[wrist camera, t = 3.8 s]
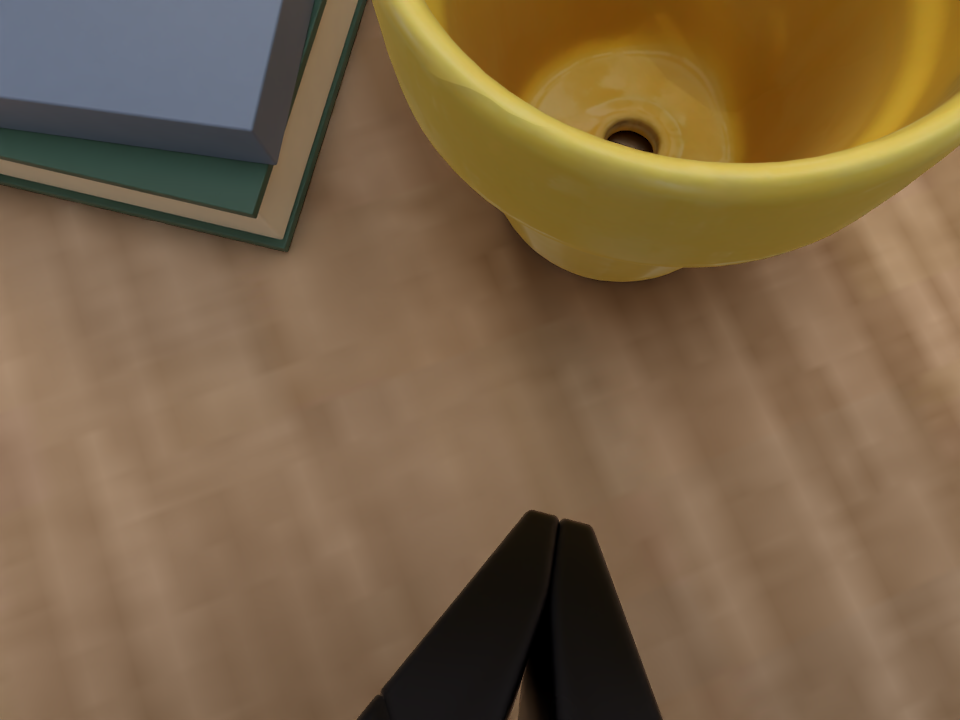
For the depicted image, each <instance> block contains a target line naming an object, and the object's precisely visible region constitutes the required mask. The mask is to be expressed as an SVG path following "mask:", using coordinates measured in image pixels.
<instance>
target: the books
mask: <svg viewBox="0 0 960 720" xmlns="http://www.w3.org/2000/svg"><path fill="white" fill-rule="evenodd" d="M366 1H367V0H0V184H2V185H6V186H10V187H14V188H19V189H23V190H27V191H31V192H35V193H40V194H44V195H48V196H52V197H57V198H61V199H65V200H69V201H73V202H78V203H82V204H86V205H90V206H95V207H99V208H103V209H107V210H111V211H116V212H120V213H124V214H128V215H133V216H137V217H141V218H145V219H149V220H154V221H158V222H162V223H166V224H171V225H175V226H179V227H183V228H187V229H192V230H196V231H200V232H204V233H209V234H213V235H217V236H221V237H226V238H230V239H234V240H238V241H242V242H247V243H251V244H255V245H259V246H264V247H268V248H272V249H276V250H280V251H285V252H288V250H289V246H290V243H291V240H292V237H293V234H294V231H295V227H296V224H297V221H298V218H299V215H300V211H301V208H302V205H303V202H304V199H305V195H306V192H307V189H308V186H309V183H310V179H311V176H312V173H313V170H314V167H315V164H316V160H317V157H318V154H319V151H320V148H321V144H322V141H323V138H324V135H325V132H326V128H327V125H328V122H329V119H330V116H331V113H332V109H333V106H334V103H335V100H336V97H337V93H338V90H339V87H340V84H341V81H342V77H343V74H344V71H345V68H346V65H347V61H348V58H349V55H350V52H351V49H352V46H353V42H354V39H355V36H356V33H357V30H358V26H359V23H360V20H361V17H362V14H363V10H364V7H365V4H366Z"/></svg>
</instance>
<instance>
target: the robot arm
mask: <svg viewBox="0 0 960 720" xmlns="http://www.w3.org/2000/svg"><path fill="white" fill-rule="evenodd" d="M522 677H523V680H522ZM521 680H522V686H521V695H520V703H519V715H518V720H663V719H662V716H661V713H660V711H659V708H658V705H657V702H656V700H655V697H654V694H653V691H652V689H651V686H650V683H649V680H648V678H647V675H646V672H645V669H644V667H643V664H642V661H641V659H640V656H639V653H638V650H637V648H636V645H635V642H634V639H633V637H632V634H631V631H630V628H629V626H628V623H627V620H626V617H625V615H624V612H623V609H622V606H621V604H620V601H619V598H618V595H617V593H616V590H615V587H614V584H613V582H612V579H611V576H610V573H609V571H608V568H607V565H606V562H605V560H604V557H603V554H602V551H601V549H600V546H599V543H598V540H597V538H596V535H595V532H594V530H593V528H592V527H591V526H590V525H588V524H584V523H581V522H577V521H573V520H569V519H562V520H561V521H560V522H559V520H558V518H557V517H556V516H554V515H550V514H546V513H543V512H539V511H535V510H529V511H528V512H526V513H525V514H524V516H523V517H522V518H521V519H520V520H519V522H518V523H517V524H516V525H515V527H514V528H513V529H512V530H511V531H510V533H509V534H508V535H507V536H506V538H505V539H504V540H503V541H502V543H501V544H500V545H499V546H498V547H497V549H496V550H495V551H494V552H493V554H492V555H491V556H490V557H489V558H488V560H487V561H486V562H485V563H484V565H483V566H482V567H481V568H480V569H479V571H478V572H477V573H476V574H475V576H474V577H473V578H472V579H471V580H470V582H469V583H468V584H467V585H466V587H465V588H464V589H463V590H462V592H461V593H460V594H459V595H458V596H457V598H456V599H455V600H454V601H453V603H452V604H451V605H450V606H449V607H448V609H447V610H446V611H445V612H444V614H443V615H442V616H441V617H440V618H439V620H438V621H437V622H436V623H435V625H434V626H433V627H432V628H431V629H430V631H429V632H428V633H427V634H426V636H425V637H424V638H423V639H422V641H421V642H420V643H419V644H418V645H417V647H416V648H415V649H414V650H413V652H412V653H411V654H410V655H409V656H408V658H407V659H406V660H405V661H404V663H403V664H402V665H401V666H400V667H399V669H398V670H397V671H396V672H395V674H394V675H393V676H392V677H391V679H390V680H389V681H388V682H387V683H386V685H385V686H384V687H383V688H382V690H381V694H380V695H376V696H375V698H374V699H373V700H372V701H371V702H370V704H369V705H368V706H367V707H366V709H365V710H364V711H363V712H362V713H361V715H360V716H359V717H358V718H357V720H509V717H510V714H511V711H512V708H513V705H514V702H515V699H516V696H517V693H518V690H519V687H520V683H521Z"/></svg>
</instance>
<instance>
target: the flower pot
mask: <svg viewBox="0 0 960 720" xmlns="http://www.w3.org/2000/svg"><path fill="white" fill-rule="evenodd" d="M372 2H373V5H374V9H375V12H376V15H377V19H378V22H379V25H380V28H381V32H382V35H383V38H384V42H385V45H386V48H387V51H388V54H389V57H390V60H391V62H392V65H393V68H394V70H395V73H396V76H397V79H398V81H399V84H400V87H401V89H402V91H403V94H404V96H405V98H406V100H407V102H408V104H409V107H410V109H411V111H412V113H413V115H414V117H415V118H416V120H417V122H418V123H419V125H420V127H421V129H422V130H423V132H424V134H425V135H426V136H427V138H428V139H429V141H430V142H431V144H432V145H433V147H434V148H435V149H436V150H437V152H438V153H439V154H440V155H441V156H442V158H443V159H444V160H445V161H446V162H447V163H448V164H449V166H450V167H451V168H452V169H453V170H454V171H455V172H456V173H457V174H458V175H459V176H460V177H461V178H462V179H463V180H464V181H465V182H466V183H467V184H468V185H469V186H470V187H471V188H472V189H473V190H475V191H476V192H477V193H478V194H479V195H480V196H482V197H483V198H484V199H485V200H486V201H488V202H489V203H490V204H492V205H493V206H495V207H496V208H497V209H499V210H500V211H502V212H503V213H504V214H505V215H506V217H507V219H508V220H509V222H510V223H511V225H512V227H513V228H514V229H515V230H516V232H517V233H518V234H519V235H520V236H521V237H522V239H523V240H524V241H525V242H526V243H527V244H528V245H529V246H530V247H531V248H532V249H533V250H535V251H536V252H537V253H538V254H539V255H541V256H542V257H544V258H545V259H547V260H548V261H550V262H551V263H553V264H555V265H557V266H558V267H561V268H563V269H565V270H567V271H569V272H572V273H574V274H577V275H579V276H583V277H587V278H591V279H596V280H602V281H616V282H627V281H641V280H646V279H652V278H656V277H660V276H663V275H667V274H669V273H671V272H674V271H676V270H678V269H681V268H683V267H686V268H700V267H715V266H726V265H734V264H741V263H746V262H751V261H756V260H761V259H766V258H769V257H773V256H776V255H780V254H783V253H786V252H789V251H792V250H795V249H798V248H801V247H804V246H806V245H809V244H812V243H814V242H816V241H819V240H821V239H823V238H825V237H827V236H830V235H832V234H833V233H835V232H837V231H839V230H840V229H842V228H844V227H846V226H847V225H849V224H851V223H852V222H854V221H856V220H857V219H859V218H860V217H862V216H863V215H865V214H866V213H868V212H869V211H871V210H872V209H874V208H875V207H877V206H878V205H880V204H881V203H883V202H884V201H886V200H887V199H889V198H890V197H892V196H893V195H895V194H896V193H898V192H899V191H901V190H902V189H903V188H905V187H906V186H907V185H909V184H910V183H911V182H912V181H914V180H915V179H916V178H918V177H919V176H920V175H922V174H923V173H924V172H926V171H927V170H928V169H930V168H931V167H932V166H934V165H935V164H936V163H938V162H939V161H940V160H942V159H943V158H944V157H946V156H947V155H948V154H949V153H951V152H952V151H953V150H954V149H955V148H957V147H958V146H959V145H960V0H372ZM624 130H630V131H633V132H637V133H639V134H641V135H642V136H644V137H645V138H646V139H647V140H648V141H649V142H650V143H651V145H652V148H653V153H649V152H645V151H640V150H637V149H634V148H630V147H627V146H623V145H620V144H616V143H613V142H610V141H607V139H608V138H609V136H611V135H612V134H613V133H615V132H618V131H624Z"/></svg>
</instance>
